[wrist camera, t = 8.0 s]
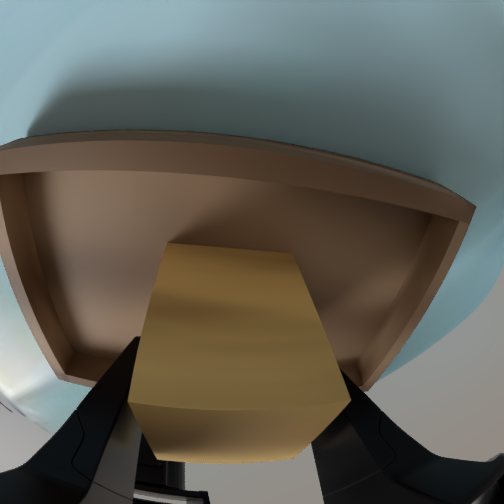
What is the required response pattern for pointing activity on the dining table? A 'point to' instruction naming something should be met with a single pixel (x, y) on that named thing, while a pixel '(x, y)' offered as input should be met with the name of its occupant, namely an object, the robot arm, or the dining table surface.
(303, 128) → the dining table surface
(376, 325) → the walnut tray
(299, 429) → the ochre block
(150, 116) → the dining table surface
